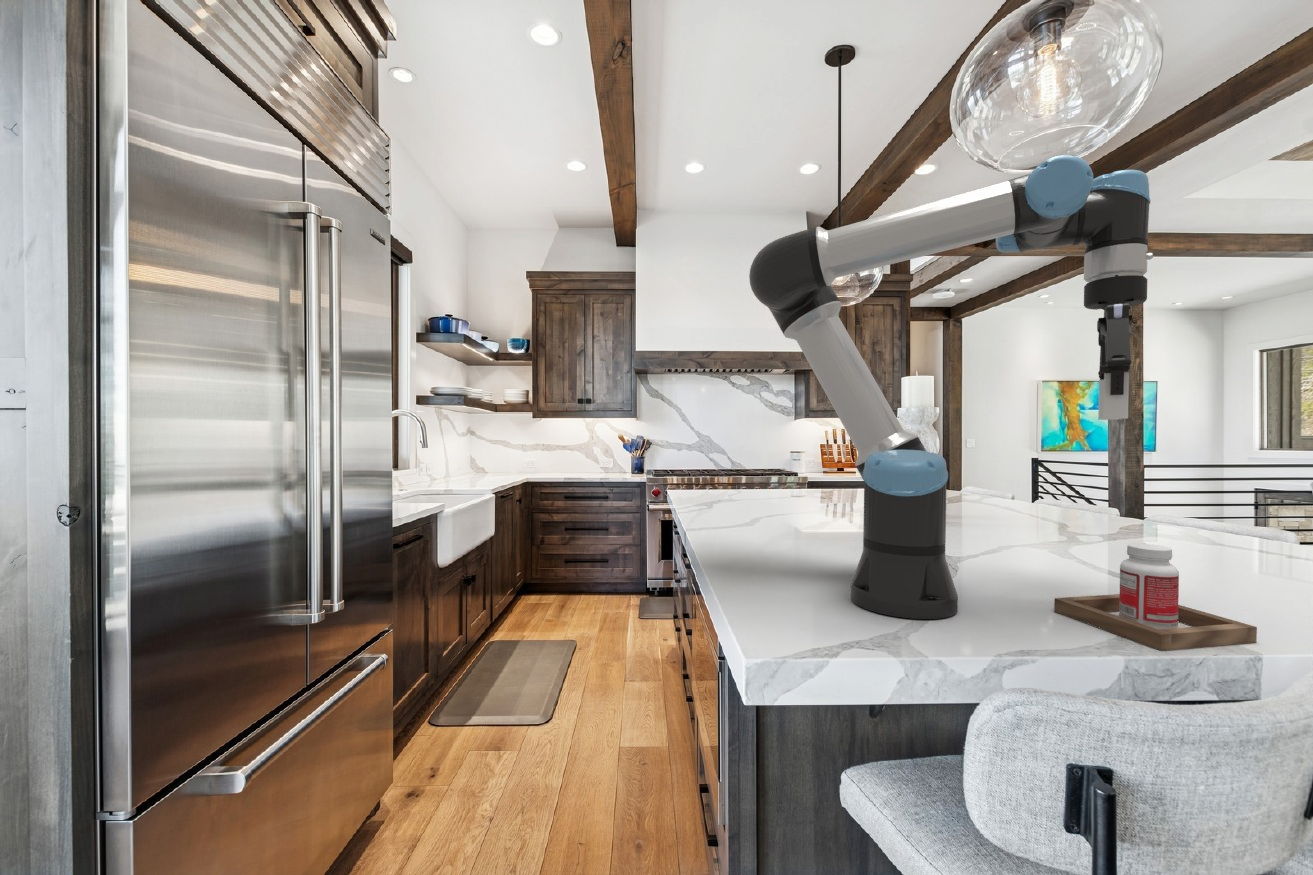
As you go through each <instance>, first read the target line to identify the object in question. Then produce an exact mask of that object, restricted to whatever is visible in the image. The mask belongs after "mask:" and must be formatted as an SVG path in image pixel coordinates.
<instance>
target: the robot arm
mask: <svg viewBox="0 0 1313 875" xmlns="http://www.w3.org/2000/svg"><path fill="white" fill-rule="evenodd" d="M1150 198H1151V197H1150V183H1149V178H1148V175H1147V173H1145V172H1144V171H1142V170H1139V169H1124V170H1123V169H1122V170H1116V171H1113V172H1110V173H1106V174H1102V175H1099V176H1097V177H1095V178H1094V173H1093V170H1092V168H1091V166H1090V164H1088V162H1087V161H1085V160H1084V159H1083V158H1081V157H1079V156H1075V155H1071V154H1061V155H1060V154H1059V155H1056V156H1053V157H1050V158H1048V159H1045V160H1044V161H1043V162H1042V163H1039V164H1038V165H1037V166H1036V168H1034V169H1033V170H1032V171H1031V173H1028V174H1025V175H1021V176H1017V177H1014V178H1012V179H1007V180H1005V181H1001V182H997V183H995V184H991V185H987V186H983V187H979V188H977V189H973V190H969V191H965V192H962V193H959V194H956V195H950V196H947V197H944V198H940V199H937V200H933V201H929V202H927V203H922V204H918V205H915V206H911V207H908V208H904V209H901V210H897V211H893V212H889V213H886V214H883V215H880V216H876V217H872V218H868V219H865V220H861V221H858V222H855V223H851V224H847V225H844V226H840V227H839V226H838V227H836V228H832V229H829V230H827V229H825V228H823V227H821V226H815V227H813V228H808V229H805V230H800V231H797V232H795V233H792V234H789V235H788V234H787V235H784V236H782V237H779V238H777V239H774V240H773V241H771V242H769V243H767V244H766V245H765V246H763V248H761V250H760V251H758V252H757V254H756V256H755V257H754V259H753V260H752V263H751V265H750V268H749V273H748V274H749V277H748V278H749V286H750V288H751V291H752V293H753V294H754V296H755V297H756V299H757V300H758V301H759V302H760V303H761V304H762V305H763V306H766V307H767V308H768V309H769V311H770V313H771V315H772V316H773V317H774V320H775V322H776V324H777V325H778V327H779V329H780V330H781V332H782V334H783V336H784V337H785V339H786V338H787V339H791V340H794V341H796V342H797V344H798V346H799V348H800V349H801V352H802V354H803V355H804V357H805V359H806V360H807V362H808V364H809V366H810V367H811V369H812V372H813V373H814V375H815V377H816V378H817V380H818V382H819V384H820V386H821V388H822V389H823V391H824V393H825V395H826V396H827V399H828V400H829V402H830V404H831V405H832V408H833V409H834V411H835V413H836V415H837V417H838V419H839V420H840V422H841V424H842V425H843V427H844V429H845V431H846V433H847V435H848V437H849V438H850V440H851V441H852V444H853V446H854V447H855V449H856V451H857V458H856V460H855V464H854V465H855V467H856V469H857V471H858V472H859V473H858V474H859V475H860V476H861V479H862V480H863V528H862V529H863V532H862V533H863V537H862V543H863V544H862V545H863V546H862V552H861V556H860V559H859V561H858V564H857V566H856V570H855V573H854V574H853V578H852V580H851V583H850V600H851V601H852V602H853V603H854V604H856V605H857V606H858V607H861V608H862V609H865V610H868V611H871V612H875V613H876V614H877V613H878V614H883V615H884V616H885V615H886V616H891V617H896V618H898V617H899V618H903V619H914V620H915V619H917V620H918V619H919V620H934V619H935V620H938V619H945V618H950V617H952V616H954V615H956V614H957V613H958V607H959V605H958V604H959V599H958V598H959V597H958V592H957V590H956V585H955V583H954V580H953V577H952V574H951V571H950V568H949V565H948V562H947V558H946V540H947V539H946V538H947V536H946V535H947V534H946V532H947V531H946V530H947V529H946V528H947V527H946V526H947V482H948V479H949V471H948V470H947V461H946V459H945V458H944V457H943V456H942V455H941V454H938V453H935V452H930V451H927V450H926V448H925V446H924V444H923V443H922V440H921V439H920V437H919V436H918V435H917V434H915V433H911V432H908V431H906V430H904V428H903V425H901V423H900V421H899V420H898V418H897V416H896V414H895V412H894V411H893V409H892V407H891V406H890V403H889V402H888V400H887V399H886V397H885V394H884V393H883V392H882V390H881V388H880V386H879V384H878V383H877V381H876V379H875V377H874V375H873V374H872V372H871V371H870V369H869V366H867V364H866V361H865V360H864V358H863V357H862V355H861V353H860V352H859V350H858V348H857V347H856V344H855V342H854V341H853V339H852V338H851V336H850V334H849V333H848V330H847V329H846V327H845V324H843V322H842V320H841V318H840V317H839V316H840V315H839V314H840V311H841V308H842V302H841V301H840V299H839V297H838V295H837V294H836V292H835V290H834V289H833V286H832V283H833V282H834V280H836V279H837V278H840V277H841V278H842V277H845V276H850V275H852V274H853V275H854V274H857V273H861V272H865V271H870V270H873V269H878V268H882V267H885V266H890V265H894V264H898V263H901V262H905V261H909V260H910V261H911V260H913V259H917V258H921V257H925V256H930V255H934V254H938V253H941V252H942V253H943V252H946V251H949V250H954V249H959V248H963V247H965V246H966V247H967V246H969V245H974V244H978V243H982V242H986V241H989V240H990V241H991V240H994V239H995V248H996V250H997V251H998V252H1000V253H1024V252H1028V251H1035V250H1045V249H1053V248H1054V249H1055V248H1061V247H1062V248H1063V247H1068V246H1069V247H1071V246H1078V245H1079V246H1080V245H1084V255H1083V256H1084V257H1083V258H1084V259H1083V280H1084V281H1085V282H1087V283H1086V284H1085V285H1084V287H1083V307H1084V308H1086V309H1088V310H1094V311H1095V310H1103V311H1104V312H1103V317H1098V320H1097V322H1096V329H1097V330H1096V331H1097V333H1098V336H1097V337H1098V341H1097V342H1098V346H1099V347H1100V350H1099V351H1100V352H1099V368H1098V369H1099V371H1098V374H1097V375H1098V379H1099V380H1098V410H1097V411H1098V413H1097V414H1098V415H1097V417H1098V420H1100V421H1105V420H1106V421H1110V420H1111V421H1115V420H1116V421H1118V420H1119V421H1120V420H1123V419H1124V420H1125V419H1129V391H1130V389H1129V388H1130V385H1129V384H1130V372H1129V370H1130V368H1131V364H1132V359H1131V346H1130V345H1131V343H1130V342H1131V341H1130V340H1131V335H1132V324H1133V315H1131V314H1130V309H1131V307H1136V306H1139V305H1141V304H1144V303H1145V302H1146V301H1147V300H1148V278H1147V277H1146V276H1144V275H1146V274H1147V272H1148V261H1149V260H1152V259H1153V258H1154V253H1153V252H1148V250H1149V249H1148V246H1149V245H1148V244H1149V243H1148V241H1149V240H1148V238H1149V237H1148V236H1149V218H1150V216H1149V215H1150V204H1151V199H1150Z"/></svg>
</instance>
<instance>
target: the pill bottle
mask: <svg viewBox="0 0 1313 875" xmlns="http://www.w3.org/2000/svg"><path fill="white" fill-rule="evenodd" d="M1126 547H1127V549H1126V555H1127V556H1128V558H1126V559H1124V560H1123V561H1121V562H1120V565H1119V594H1120V602H1119V611H1118V612H1119V614H1118V616H1120V617H1123V618H1126V619H1129V620H1132V621H1135V622H1138V623H1141V624H1144V625H1147V626H1150V627H1153V628H1156V629H1158V630H1159V629H1172V628H1179V622H1178V605H1179V595H1180V594H1179V593H1180V592H1179V591H1180V585H1179V584H1180V583H1179V582H1180V573H1179V572H1180V571H1179V570H1178V567H1176V566H1175V565H1173V564H1171V562H1170V561H1171V560H1172V558H1173V549H1172V548H1171V547H1168V546H1164V545H1160V544H1159V545H1158V544H1151V543H1148V544H1147V543H1127V546H1126Z"/></svg>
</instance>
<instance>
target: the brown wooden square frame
mask: <svg viewBox="0 0 1313 875" xmlns="http://www.w3.org/2000/svg"><path fill="white" fill-rule="evenodd" d="M1053 601H1054V602H1053V603H1054V604H1053V605H1054V606H1053V607H1054V608H1053V610H1054V611H1053V612H1054V613H1057V614H1060V615H1062V616H1066V617H1068V618H1070V619H1074V620H1076V621H1079V622H1082V623H1085V624H1087V623H1089V624H1088V625H1090V624H1091V625H1090V626H1092V625H1093V626H1092V627H1095V626H1096V628H1098V627H1100V628H1102V629H1101V630H1103V629H1104V630H1103V631H1107V632H1108V633H1112V634H1115V635H1117V636H1120V637H1122V638H1125V639H1128V640H1130V641H1133V642H1136V643H1139V644H1142V645H1144V646H1147V647H1150V646H1151V647H1150V648H1152V647H1153V648H1152V649H1155V648H1156V650H1158V649H1159V650H1158V651H1160V650H1165V651H1173V650H1175V649H1176V650H1186V649H1196V648H1198V649H1199V648H1208V647H1219V646H1233V644H1234V645H1242V644H1255V643H1257V642H1258V641H1257V638H1258V637H1257V636H1258V634H1257V633H1258V632H1257V631H1258V627H1257V626H1255V625H1251V624H1249V623H1248V624H1247V623H1246V622H1245V623H1244V622H1242V621H1241V622H1240V621H1237V620H1233V619H1230V618H1227V617H1224V616H1223V617H1222V616H1219V615H1216V614H1212V613H1210V612H1209V613H1208V612H1206V611H1203V610H1198V609H1195V608H1192V607H1188V606H1185V605H1180V604H1178V621H1179V622H1178V623H1180V622H1181V624H1184V623H1185V624H1184V625H1187V624H1188V625H1187V627H1185V626H1184V627H1178V628H1172V629H1159V630H1158V629H1156V628H1153V627H1150V626H1147V625H1144V624H1141V623H1138V622H1135V621H1132V620H1129V619H1126V618H1123V617H1120V616H1119V615H1116V614H1113V613H1111V612H1119V602H1120V593H1117V594H1116V593H1115V594H1102V595H1101V594H1099V595H1084V596H1083V595H1082V596H1068V597H1054V600H1053ZM1100 628H1099V629H1100ZM1176 650H1175V651H1176Z"/></svg>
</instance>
